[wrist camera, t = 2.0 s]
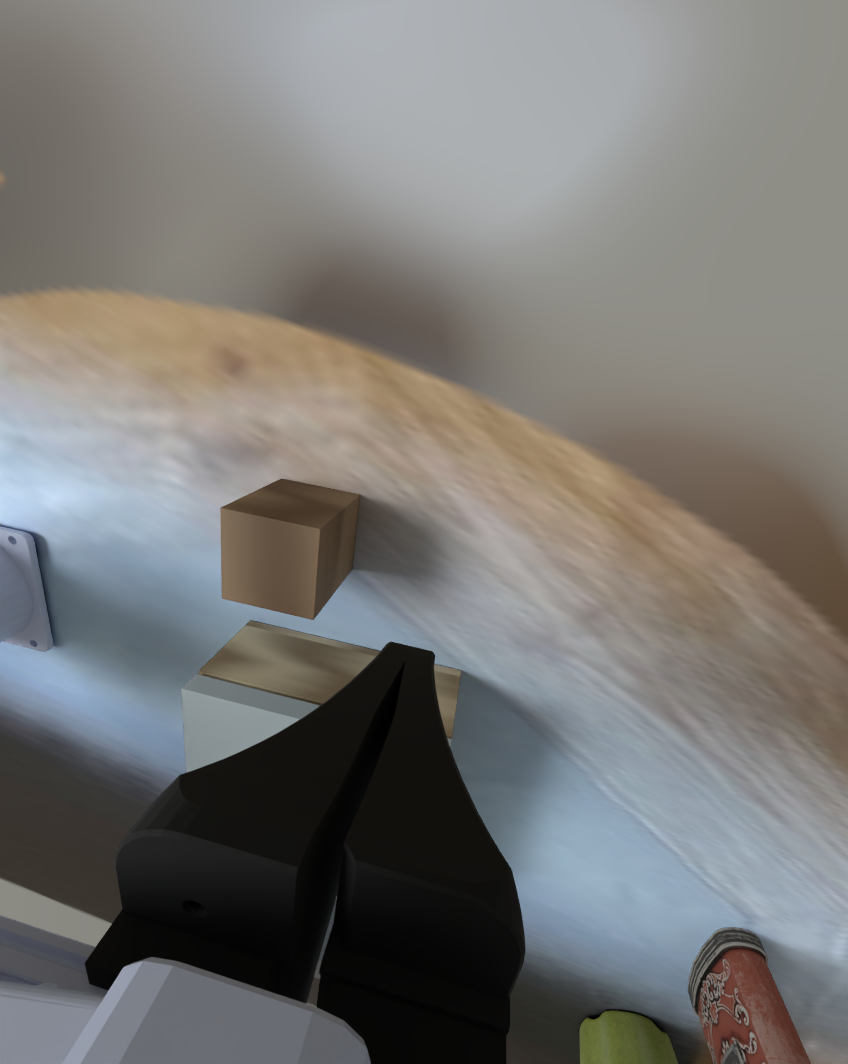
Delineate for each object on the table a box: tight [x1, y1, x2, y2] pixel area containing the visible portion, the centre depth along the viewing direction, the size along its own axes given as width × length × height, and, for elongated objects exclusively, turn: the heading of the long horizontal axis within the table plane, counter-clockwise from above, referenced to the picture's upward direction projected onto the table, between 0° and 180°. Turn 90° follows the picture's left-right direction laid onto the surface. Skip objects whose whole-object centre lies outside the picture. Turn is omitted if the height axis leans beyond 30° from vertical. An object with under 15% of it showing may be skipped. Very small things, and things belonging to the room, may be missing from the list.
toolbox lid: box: [181, 674, 452, 979], centre depth 21 cm, size 12×14×4 cm
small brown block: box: [221, 479, 360, 620], centre depth 20 cm, size 4×4×5 cm
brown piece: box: [199, 620, 461, 739], centre depth 24 cm, size 12×14×4 cm
